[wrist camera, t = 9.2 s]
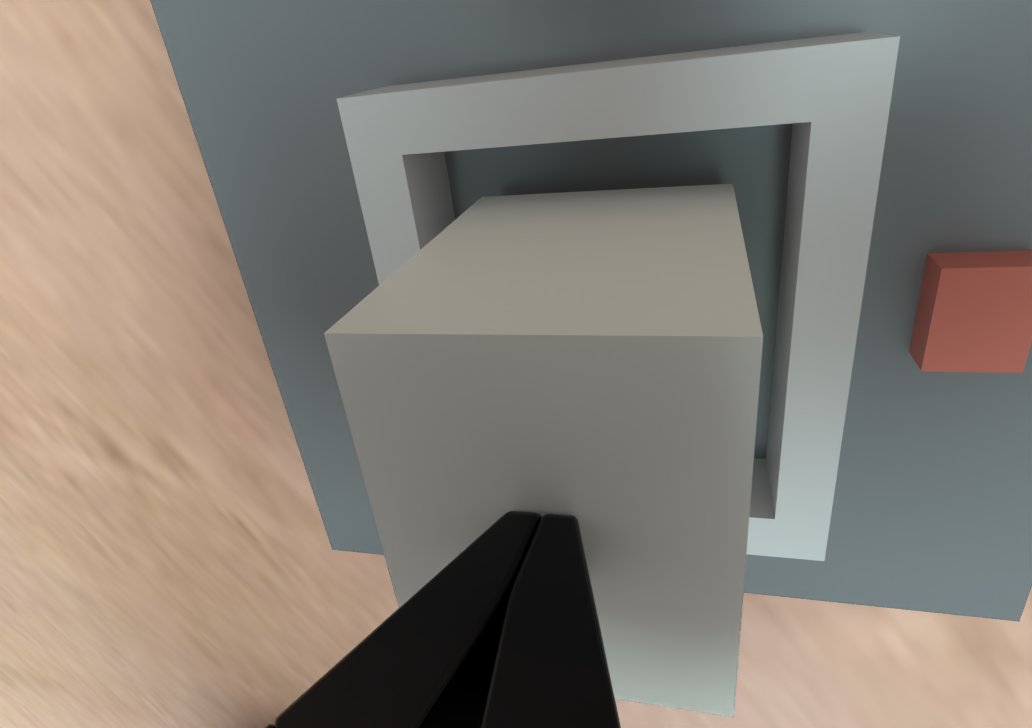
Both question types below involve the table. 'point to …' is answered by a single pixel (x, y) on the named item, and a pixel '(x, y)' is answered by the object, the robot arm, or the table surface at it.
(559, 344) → the pale grey cuboid block
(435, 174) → the socket plate
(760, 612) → the table surface
